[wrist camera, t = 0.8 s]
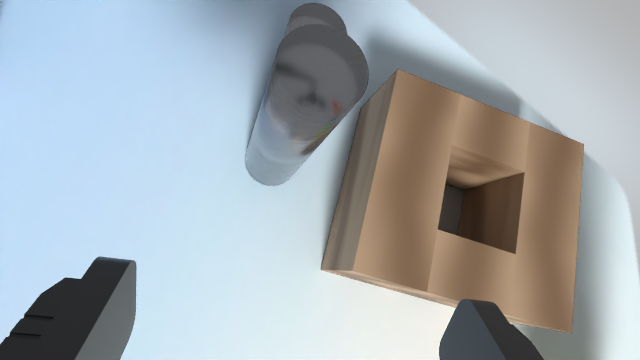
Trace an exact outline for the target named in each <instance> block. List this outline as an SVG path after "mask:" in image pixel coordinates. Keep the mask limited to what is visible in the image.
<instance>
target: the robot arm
mask: <svg viewBox="0 0 640 360" xmlns="http://www.w3.org/2000/svg"><path fill="white" fill-rule="evenodd" d="M135 313H136V262H135V261H134V260H125V259H116V258H107V257H97V258H96V259H95V260H94V261H93V263H92V264H91V266H90V267H89V268H88V270H87V271H86V273H85V274H84V276H83V277H82V278H81V279H75V278H64V279H63V280H61V281H60V282H58V283H57V284H55V285H54V286H52V287H51V288H49V289H48V290H46V291H44V292H43V293H41V295H40V296H39V297H38V298H37V299H36V301H35V302H34V303H33V304H32V306H31V307H30V308H29V309H28V311H27V312H26V313H25V314H24V318H23V319H20V321H19V322H18V323H17V324H16V326H15V327H14V328H13V329H12V331H11V332H10V335H9V337H6V338H5V339H4V341H3V342H2V343H1V344H0V360H120V358H121V356H122V354H123V351H124V349H125V347H126V345H127V343H128V340H129V338H130V335H131V332H132V329H133V325H134V320H135ZM439 357H440V360H544V359H543V358H542V356H541V355H540V354H539V352H538V351H537V349H536V348H535V346H534V345H533V344H532V342H531V341H530V340H529V339H528V338H527V337H526V336H524V335H523V334H522V333H521V332H520V331H519V330H518V329H517V328H516V327H515V326H514V325H512V324H510V323H509V322H508V320H507V319H506V318H505V316H504V315H503V313H502V312H501V310H500V309H499V307H498V306H497V305H496V304H495V303H493V302H490V301H481V300H472V299H462V300H461V301H460V302H459V303H458V305H457V307H456V309H455V311H454V314H453V316H452V318H451V320H450V322H449V324H448V326H447V328H446V330H445V333H444V335H443V337H442V339H441V342H440V347H439Z"/></svg>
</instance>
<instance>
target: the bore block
mask: <svg viewBox="0 0 640 360" xmlns="http://www.w3.org/2000/svg"><path fill="white" fill-rule="evenodd" d="M583 151H584V144H582V143H580V142H577V141H575V140H572V139H570V138H567V137H565V136H562V135H560V134H558V133H555V132H553V131H550V130H548V129H545V128H543V127H540V126H538V125H535V124H533V123H530V122H528V121H525V120H523V119H520V118H518V117H515V116H513V115H511V114H508V113H506V112H503V111H501V110H498V109H496V108H493V107H491V106H488V105H486V104H483V103H481V102H478V101H476V100H473V99H471V98H469V97H466V96H464V95H461V94H459V93H456V92H454V91H451V90H449V89H446V88H444V87H441V86H439V85H436V84H434V83H431V82H429V81H427V80H424V79H422V78H419V77H417V76H414V75H412V74H409V73H407V72H404V71H402V70H399V69H397V71H396V72H395V73H394V74H393V75H392V76H391V77H390V78H389V79H388V80H387V81H386V82H385V83H384V84H383V85H382V86H381V87H380V89H379V90H378V91H377V92H376V93H375V94H374V95H373V96H372V97H371V98H370V99H369V100H368V101H367V102H366V103H365V104H364V105H363V107H362V108H361V110H360V114H359V118H358V122H357V126H356V130H355V134H354V138H353V142H352V146H351V150H350V154H349V158H348V162H347V166H346V170H345V174H344V178H343V183H342V187H341V191H340V195H339V199H338V203H337V207H336V211H335V215H334V219H333V223H332V227H331V231H330V235H329V239H328V243H327V247H326V251H325V255H324V259H323V263H322V267H321V270H323V271H327V272H330V273H334V274H337V275H341V276H344V277H348V278H351V279H355V280H359V281H362V282H366V283H369V284H373V285H376V286H380V287H384V288H387V289H391V290H394V291H398V292H401V293H405V294H409V295H412V296H416V297H419V298H423V299H426V300H430V301H434V302H437V303H441V304H444V305H448V306H451V307H455V308H456V307H457V305H458V303H459V302H460V301H461V300H462V299H472V300H481V301H490V302H493V303H495V304H496V305H497V306H498V307H499V309H500V310H501V312H502V313H503V315H504V316H505V318H506V319H507V320H508V322H514V323H519V324H524V325H530V326H535V327H540V328H546V329H551V330H557V331H562V332H567V333H572V320H573V305H574V289H575V274H576V259H577V243H578V228H579V212H580V197H581V182H582V166H583ZM445 184H448V185H451V186H454V187H457V188H460V189H462V190H464V196H463V203H462V209H461V216H460V222H459V229H458V235H454V234H451V233H448V232H444V231H441V230H438V224H439V219H440V213H441V207H442V201H443V195H444V189H445Z"/></svg>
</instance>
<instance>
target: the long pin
mask: <svg viewBox="0 0 640 360" xmlns="http://www.w3.org/2000/svg"><path fill="white" fill-rule="evenodd" d="M368 76H369V73H368V66H367V62H366V59H365V56H364V54H363V52H362V51H361V49H360V48H359V46H358V45H357V44H356V43H355V41H354V40H353V39H351V38H350V37H349V36H348V35H347V34H345V33H344V32H342V31H340V30H338V29H336V28H334V27H331V26H327V25H322V24H309V25H304V26H301V27H298V28H296V29H294V30H293V31H291V32H290V33H289V34H287V35H286V36H285V38H284V39H283V40H282V42H281V43H280V45H279V47H278V50H277V53H276V56H275V60H274V63H273V66H272V70H271V73H270V76H269V79H268V83H267V86H266V89H265V93H264V96H263V99H262V102H261V106H260V109H259V112H258V116H257V119H256V122H255V125H254V129H253V132H252V135H251V139H250V142H249V145H248V148H247V152H246V156H245V164H246V168H247V170H248V172H249V174H250V175H251V176H252V178H254V179H255V180H256V181H257V182H259V183H261V184H264V185H268V186H275V185H280V184H282V183H284V182H286V181H287V180H289V179H290V178H291V176H292V175H293V174H294V173H295V172H296V171H297V170H298V169H299V167H300V166H301V165H302V164H303V163H304V162H305V161H306V160H307V158H308V157H309V156H310V155H311V154H312V153H313V152H314V151H315V149H316V148H317V147H318V146H319V145H320V144H321V143H322V142H323V140H324V139H325V138H326V137H327V136H328V135H329V134H330V133H331V131H332V130H333V129H334V128H335V127H336V126H337V125H338V124H339V122H340V121H341V120H342V119H343V118H344V117H345V116H346V115H347V113H348V112H349V111H350V110H351V109H352V108H353V107H354V106H355V104H356V103H357V102H358V101H359V100H360V99H361V97H362V96H363V94H364V92H365V90H366V88H367V84H368Z"/></svg>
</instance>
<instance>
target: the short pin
mask: <svg viewBox="0 0 640 360" xmlns="http://www.w3.org/2000/svg"><path fill="white" fill-rule="evenodd" d="M309 24H322V25H327V26H331V27H334V28H336V29H338V30H340V31H342V32H344V33H345V34H347V31H346V27H345V24H344V22H343V20H342V19H341V17H340V16H339V15H338V14H337V13H336V12H335V11H334V10H332V9H331V8H329V7H327V6H325V5H322V4H317V3H309V4H304V5H302V6H300V7H298V8H297V9H296V10H295V11H294V12H293V13H292V15H291V17H290V19H289V23H288V26H287V29H286V32H285V35H284V38H285V36H286V35H287V34H289V33H290V32H291V31H293V30H294V29H296V28H298V27H301V26H304V25H309ZM284 38H283V39H284Z"/></svg>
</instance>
